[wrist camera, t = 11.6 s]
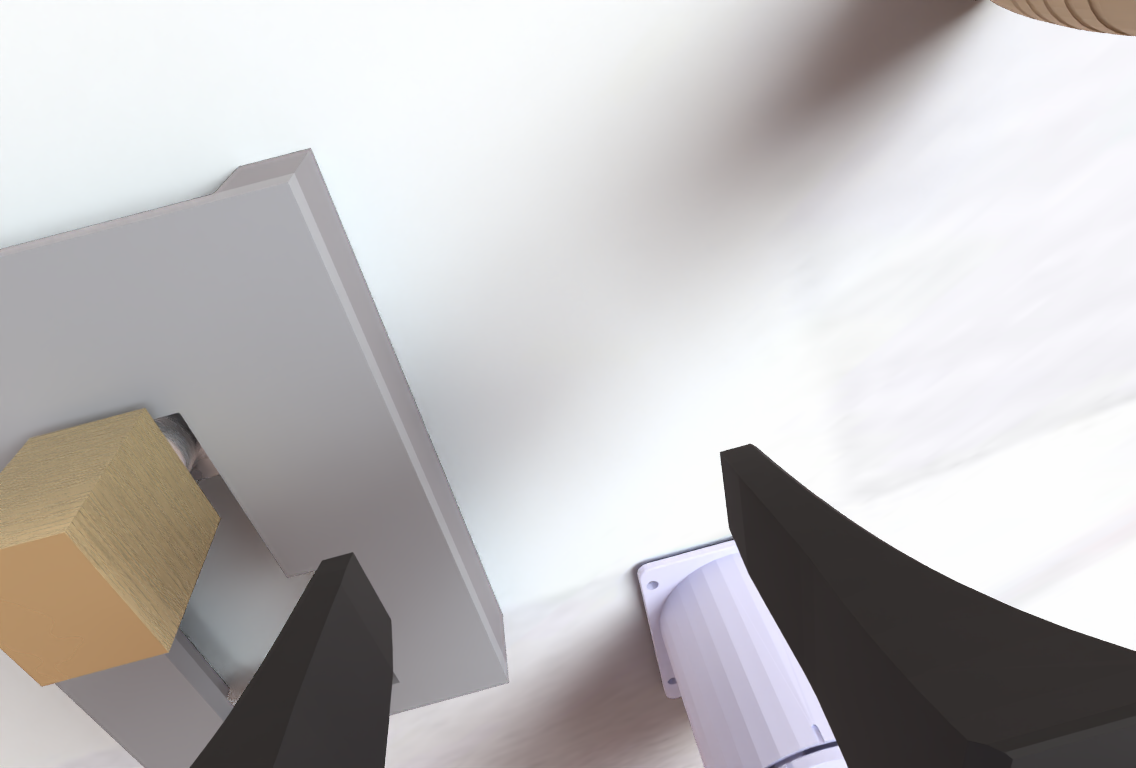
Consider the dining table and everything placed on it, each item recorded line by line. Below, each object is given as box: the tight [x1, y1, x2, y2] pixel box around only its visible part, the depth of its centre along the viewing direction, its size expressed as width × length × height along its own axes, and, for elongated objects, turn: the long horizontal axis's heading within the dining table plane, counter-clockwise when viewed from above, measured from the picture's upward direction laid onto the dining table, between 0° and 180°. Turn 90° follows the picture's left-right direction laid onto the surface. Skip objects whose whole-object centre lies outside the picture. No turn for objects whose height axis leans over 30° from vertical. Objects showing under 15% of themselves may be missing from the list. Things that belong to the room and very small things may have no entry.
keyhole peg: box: [0, 408, 221, 686], centre depth 18 cm, size 5×5×8 cm
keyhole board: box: [0, 148, 509, 768], centre depth 23 cm, size 20×14×3 cm
